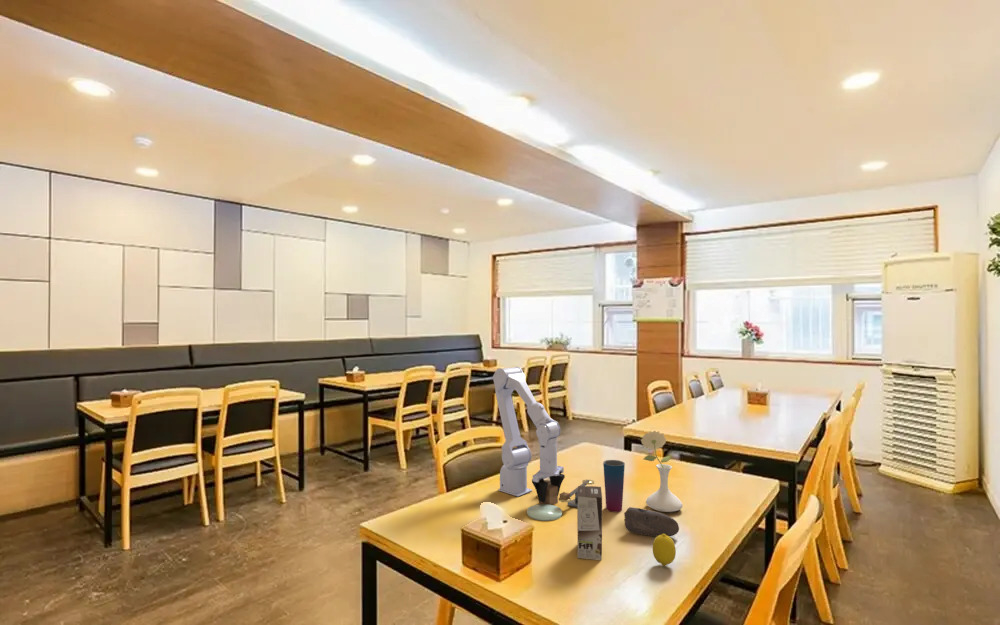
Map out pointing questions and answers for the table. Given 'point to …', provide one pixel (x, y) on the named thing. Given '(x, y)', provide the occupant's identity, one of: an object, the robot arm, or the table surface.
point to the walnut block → (551, 495)
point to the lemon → (664, 549)
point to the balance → (566, 496)
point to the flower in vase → (663, 496)
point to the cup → (614, 484)
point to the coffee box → (589, 522)
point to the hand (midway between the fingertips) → (548, 498)
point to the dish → (544, 512)
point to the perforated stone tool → (649, 522)
